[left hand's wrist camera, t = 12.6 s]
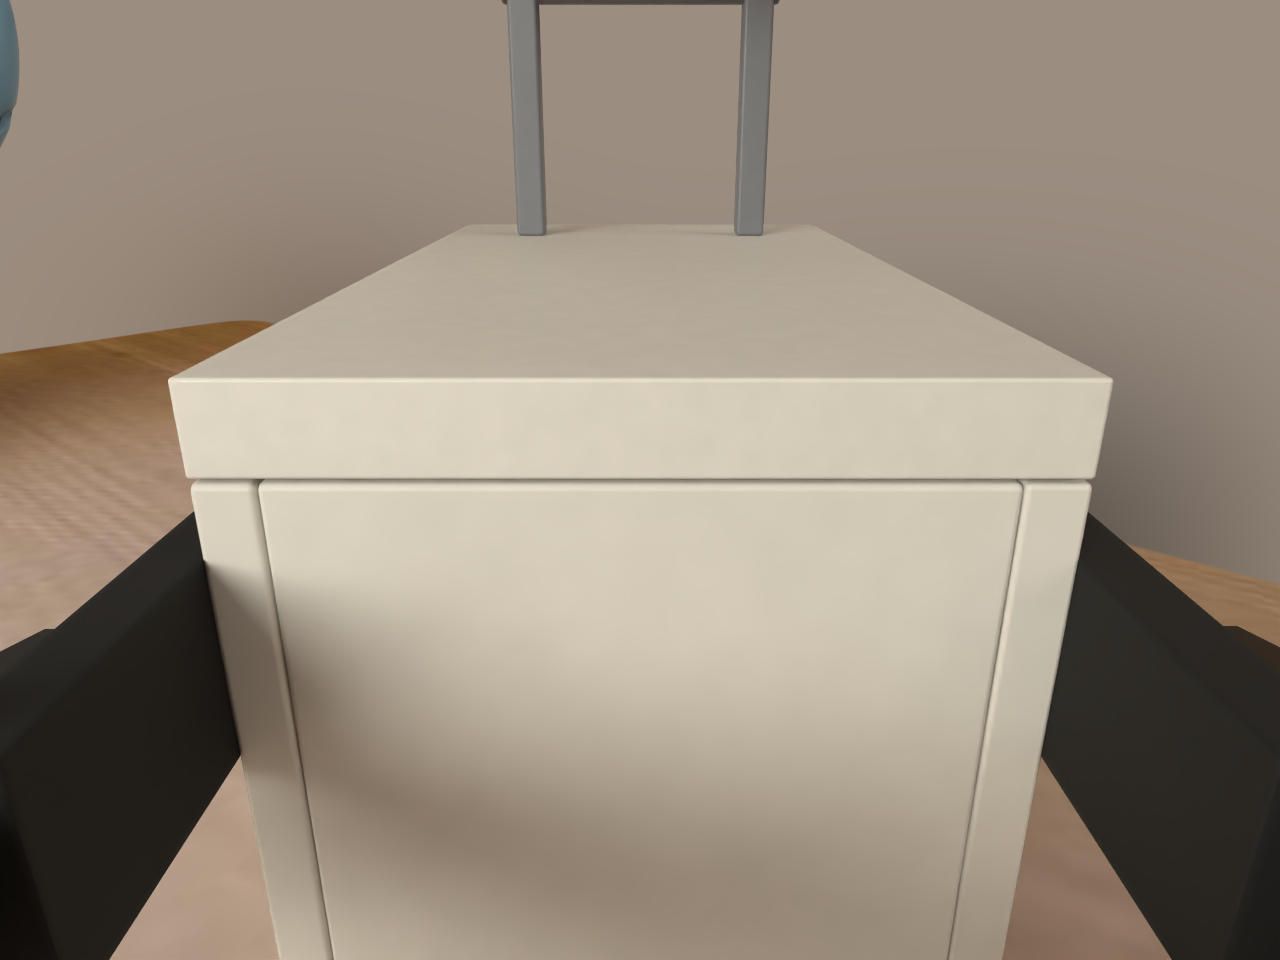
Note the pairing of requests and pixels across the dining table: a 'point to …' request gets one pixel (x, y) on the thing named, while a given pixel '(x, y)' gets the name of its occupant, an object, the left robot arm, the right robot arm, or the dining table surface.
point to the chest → (640, 710)
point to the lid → (640, 350)
